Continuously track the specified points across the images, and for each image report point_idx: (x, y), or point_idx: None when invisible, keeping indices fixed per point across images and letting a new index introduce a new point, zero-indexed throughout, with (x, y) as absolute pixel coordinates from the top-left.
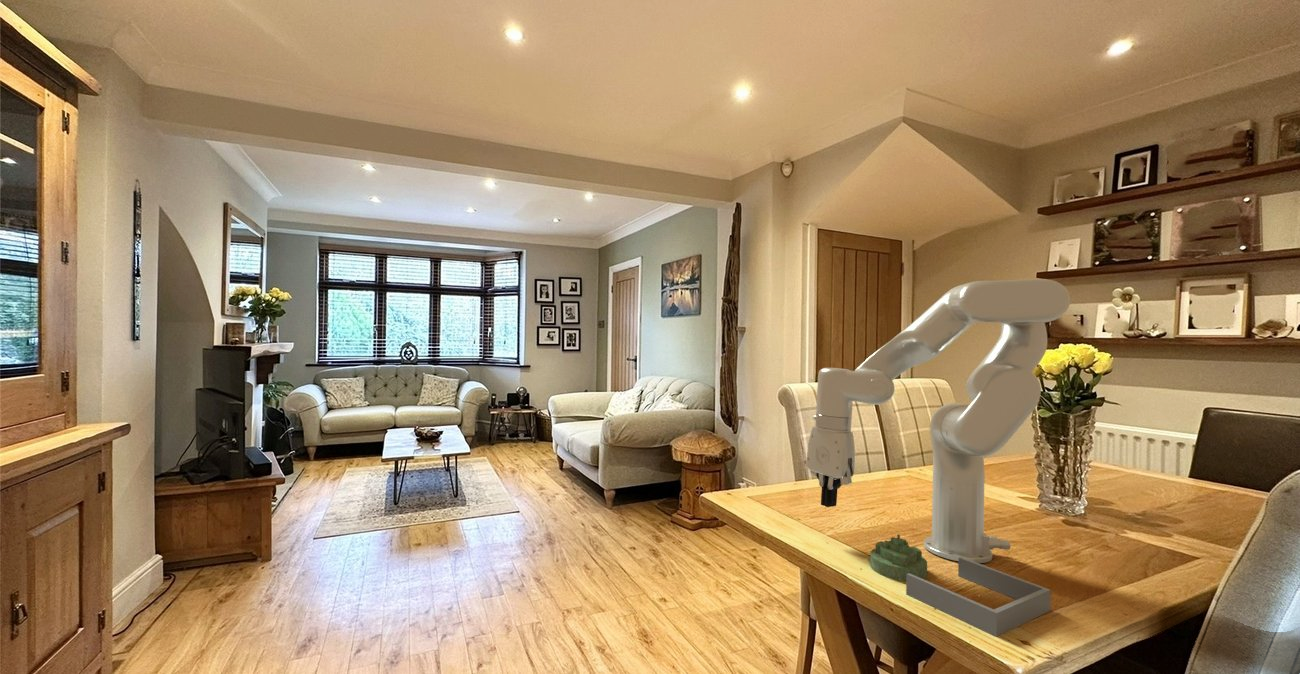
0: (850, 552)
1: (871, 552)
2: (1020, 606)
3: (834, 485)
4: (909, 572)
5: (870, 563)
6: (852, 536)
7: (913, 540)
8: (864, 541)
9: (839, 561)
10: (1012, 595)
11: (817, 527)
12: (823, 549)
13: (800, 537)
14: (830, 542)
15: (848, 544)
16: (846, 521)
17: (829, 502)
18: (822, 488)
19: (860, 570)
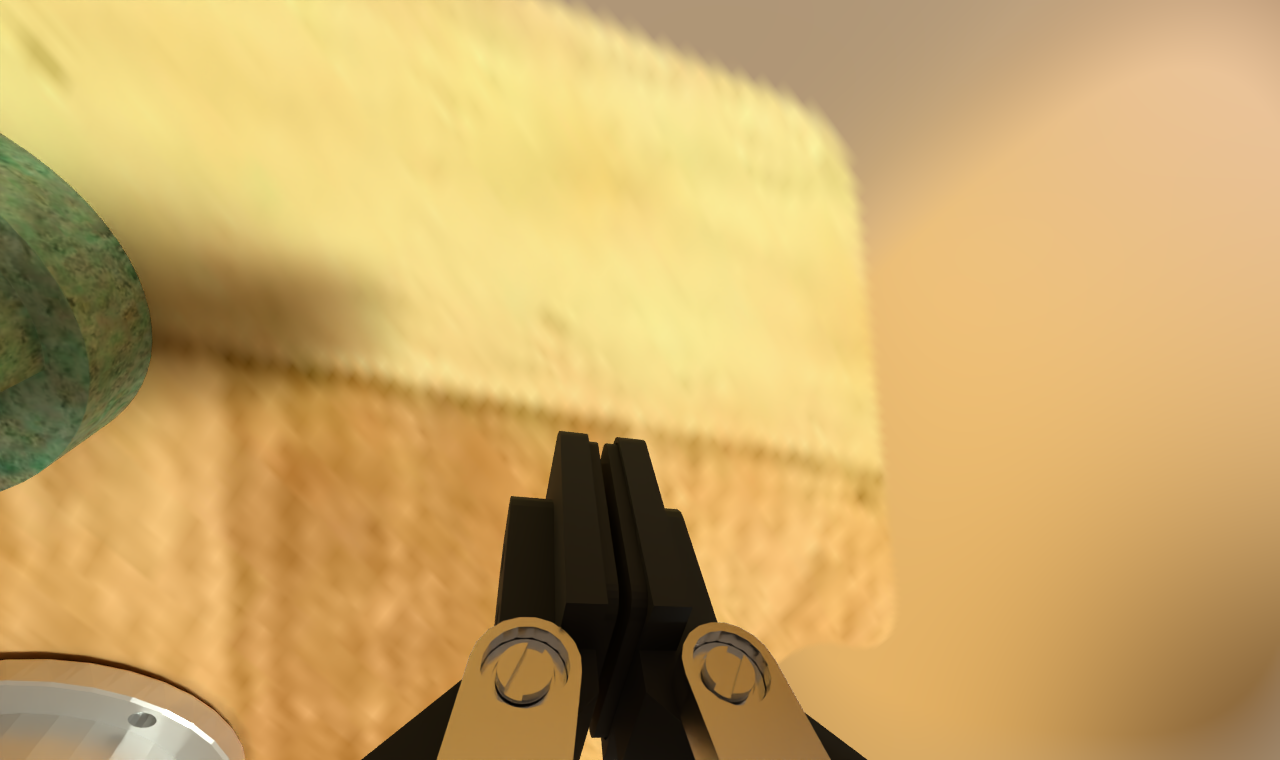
0: (348, 299)
1: (3, 230)
2: None
3: (436, 747)
4: None
5: (46, 182)
6: None
7: (302, 713)
8: (432, 519)
9: (252, 56)
10: None
11: (730, 479)
12: (492, 187)
13: (721, 255)
14: (543, 343)
15: (454, 407)
16: None
17: (553, 499)
18: (672, 593)
19: (8, 14)
